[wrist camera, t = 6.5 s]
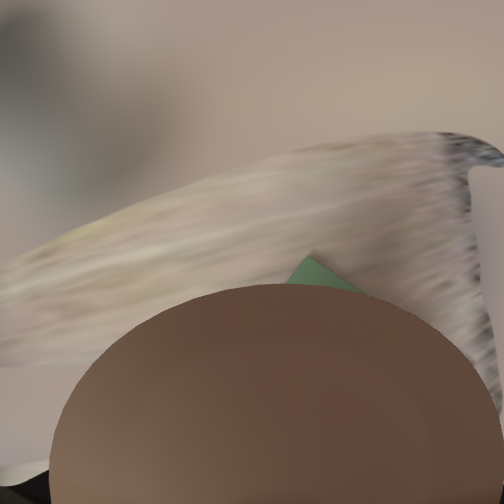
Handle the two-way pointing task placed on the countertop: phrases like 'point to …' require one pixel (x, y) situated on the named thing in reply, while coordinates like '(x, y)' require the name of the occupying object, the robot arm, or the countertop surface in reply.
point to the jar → (279, 408)
